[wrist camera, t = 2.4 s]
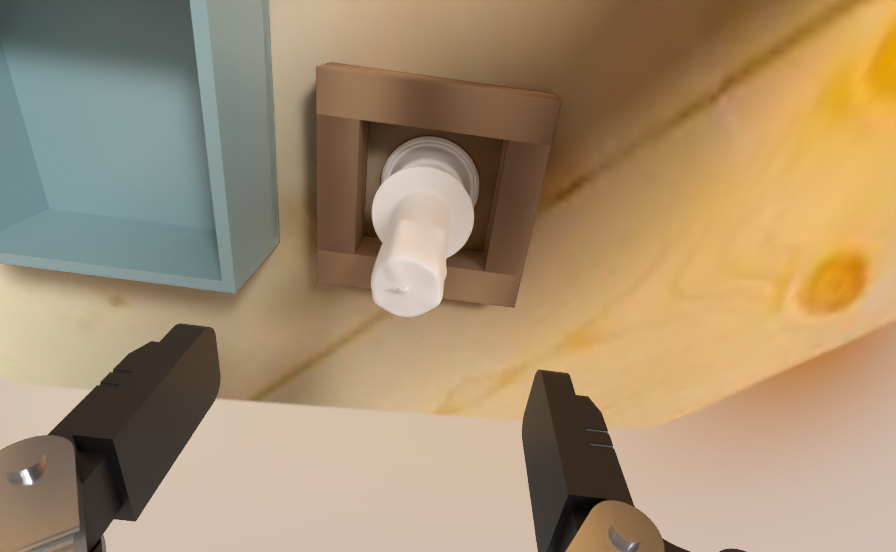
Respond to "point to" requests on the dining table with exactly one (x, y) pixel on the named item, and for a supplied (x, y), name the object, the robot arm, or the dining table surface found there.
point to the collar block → (438, 108)
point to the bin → (138, 139)
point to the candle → (421, 222)
